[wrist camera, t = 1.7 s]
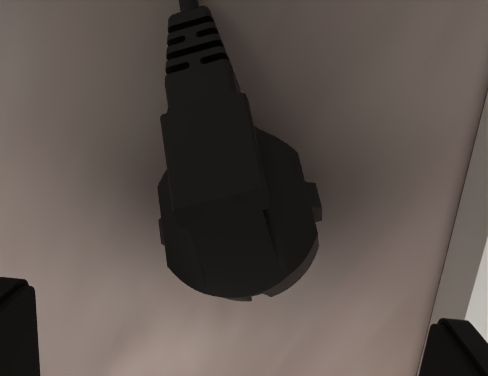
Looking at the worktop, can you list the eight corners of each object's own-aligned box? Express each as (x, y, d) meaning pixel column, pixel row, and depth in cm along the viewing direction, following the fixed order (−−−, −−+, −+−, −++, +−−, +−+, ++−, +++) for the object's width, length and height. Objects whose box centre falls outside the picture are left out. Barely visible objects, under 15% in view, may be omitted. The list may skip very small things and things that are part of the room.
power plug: (252, -82, 14) (344, 268, 10) (276, 52, 21) (336, 289, 17) (98, -33, 15) (130, 312, 11) (171, 81, 22) (206, 315, 18)
